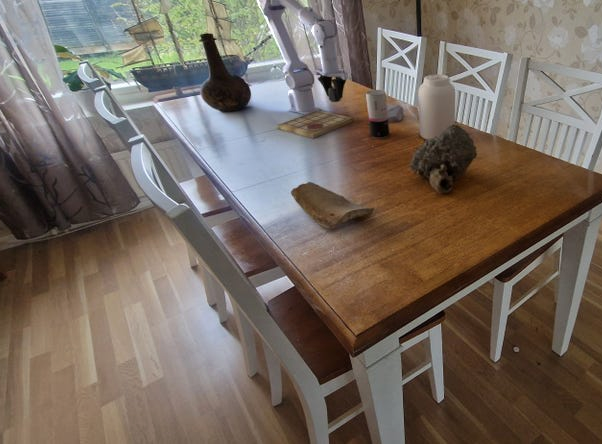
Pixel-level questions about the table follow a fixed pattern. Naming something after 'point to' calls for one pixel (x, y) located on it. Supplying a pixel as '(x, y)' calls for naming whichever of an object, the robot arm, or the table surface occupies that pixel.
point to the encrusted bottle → (444, 158)
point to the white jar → (436, 105)
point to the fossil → (327, 205)
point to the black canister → (333, 94)
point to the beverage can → (377, 113)
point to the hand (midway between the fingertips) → (334, 96)
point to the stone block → (395, 113)
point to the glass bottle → (222, 81)
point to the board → (315, 123)
